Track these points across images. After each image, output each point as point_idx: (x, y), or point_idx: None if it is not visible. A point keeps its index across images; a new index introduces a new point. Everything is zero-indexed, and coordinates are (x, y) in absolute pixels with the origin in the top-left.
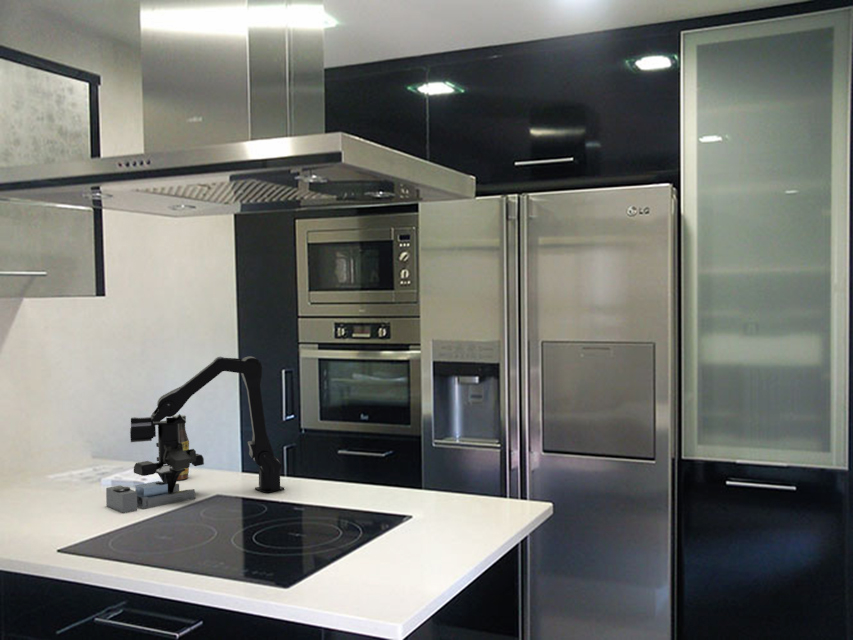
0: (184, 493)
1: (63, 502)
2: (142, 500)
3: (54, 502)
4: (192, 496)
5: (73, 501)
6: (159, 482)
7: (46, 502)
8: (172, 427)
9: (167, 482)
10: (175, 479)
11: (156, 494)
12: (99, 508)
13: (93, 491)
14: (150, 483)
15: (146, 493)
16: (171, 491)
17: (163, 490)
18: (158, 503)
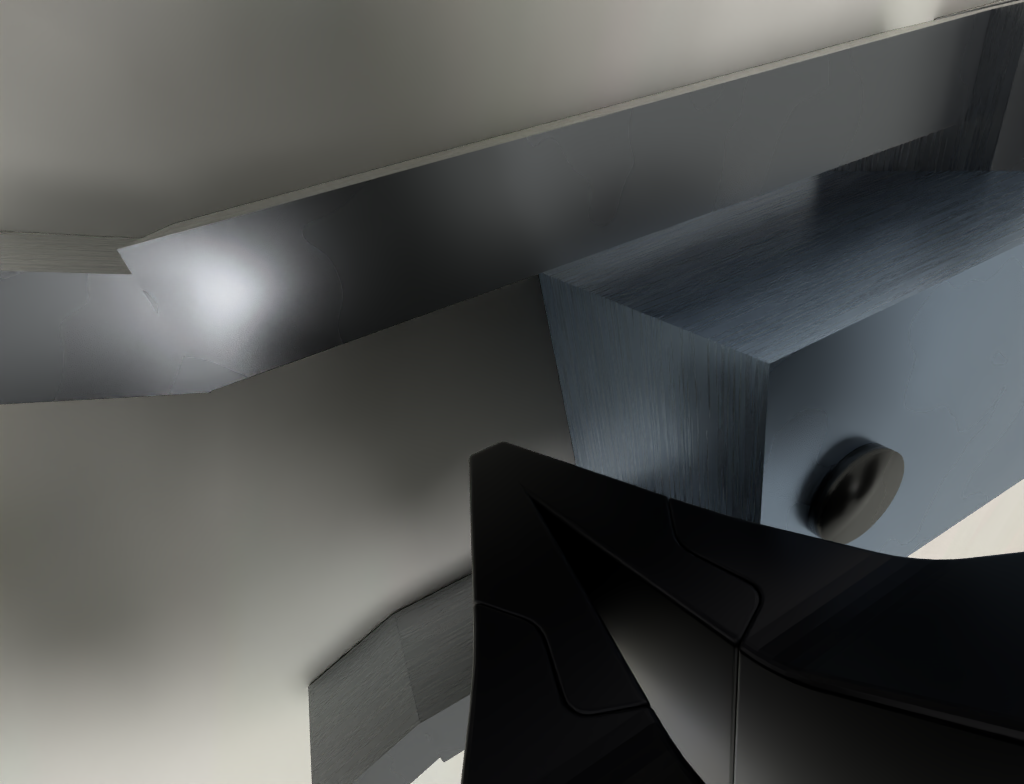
0: (254, 207)
1: (979, 527)
2: None
3: (991, 536)
4: (36, 242)
5: (952, 536)
6: (846, 507)
7: (1001, 543)
8: None
9: (713, 511)
10: (531, 658)
11: (807, 229)
12: None
13: None
14: (915, 511)
15: (995, 180)
16: (499, 463)
17: (738, 286)
18: (737, 72)
